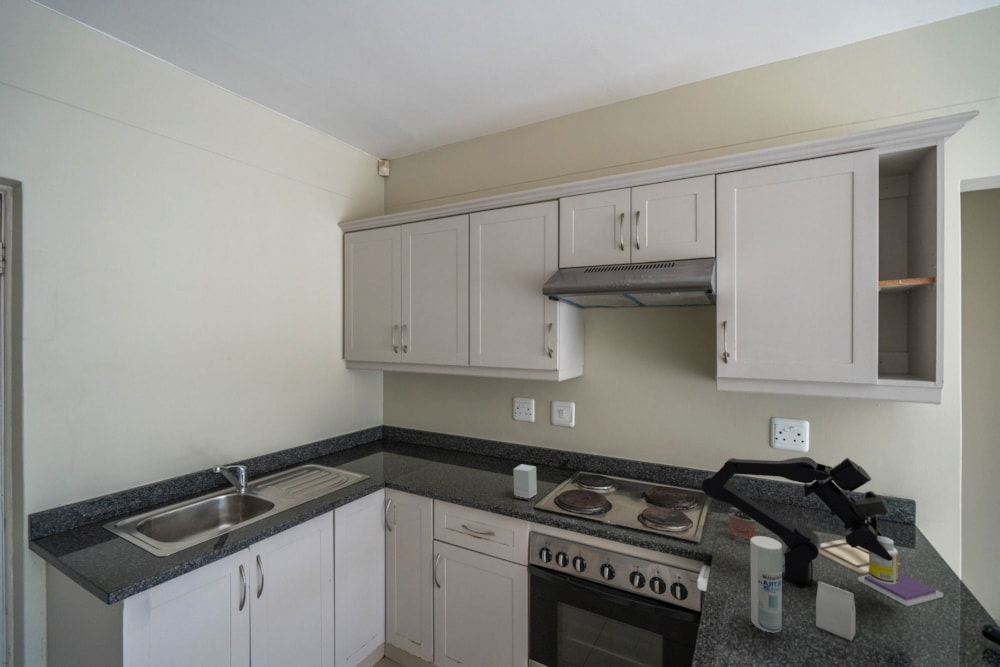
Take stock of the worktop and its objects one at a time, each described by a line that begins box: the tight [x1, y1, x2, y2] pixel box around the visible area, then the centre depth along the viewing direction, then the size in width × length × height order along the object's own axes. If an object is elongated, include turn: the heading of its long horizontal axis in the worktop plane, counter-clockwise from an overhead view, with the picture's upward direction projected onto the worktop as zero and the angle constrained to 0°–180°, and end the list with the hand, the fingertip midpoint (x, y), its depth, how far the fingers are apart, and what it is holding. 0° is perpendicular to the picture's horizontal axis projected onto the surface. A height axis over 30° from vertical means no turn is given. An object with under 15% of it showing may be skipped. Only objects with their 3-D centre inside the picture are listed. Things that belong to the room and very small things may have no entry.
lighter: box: [728, 506, 756, 544], centre depth 150 cm, size 8×3×10 cm, turn 47°
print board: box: [818, 538, 901, 576], centre depth 138 cm, size 16×16×1 cm
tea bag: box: [815, 581, 856, 642], centre depth 106 cm, size 4×7×10 cm, turn 40°
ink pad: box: [857, 571, 944, 607], centre depth 121 cm, size 13×12×2 cm
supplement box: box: [512, 463, 538, 498], centre depth 189 cm, size 7×7×13 cm
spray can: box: [749, 535, 783, 633], centre depth 107 cm, size 6×6×20 cm
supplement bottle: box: [868, 535, 899, 584], centre depth 114 cm, size 6×6×10 cm
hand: (890, 555), depth 113 cm, fingers closed on supplement bottle, 5 cm apart
